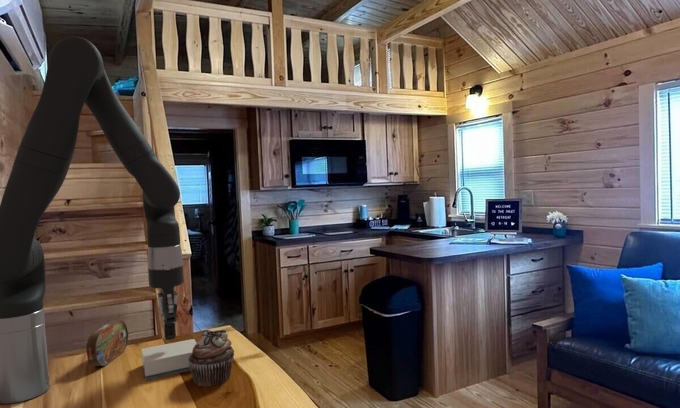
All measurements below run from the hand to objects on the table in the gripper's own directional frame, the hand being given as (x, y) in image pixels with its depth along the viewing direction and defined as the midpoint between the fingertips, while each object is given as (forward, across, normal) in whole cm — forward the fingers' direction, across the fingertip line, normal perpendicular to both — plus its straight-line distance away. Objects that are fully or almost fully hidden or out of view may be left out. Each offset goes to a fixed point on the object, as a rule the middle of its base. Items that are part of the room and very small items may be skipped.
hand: (170, 338), depth 105 cm
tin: (+7, -13, -13) cm, 20 cm away
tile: (+4, -4, 0) cm, 6 cm away
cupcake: (+7, +12, +7) cm, 15 cm away
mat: (+6, +1, 0) cm, 7 cm away
